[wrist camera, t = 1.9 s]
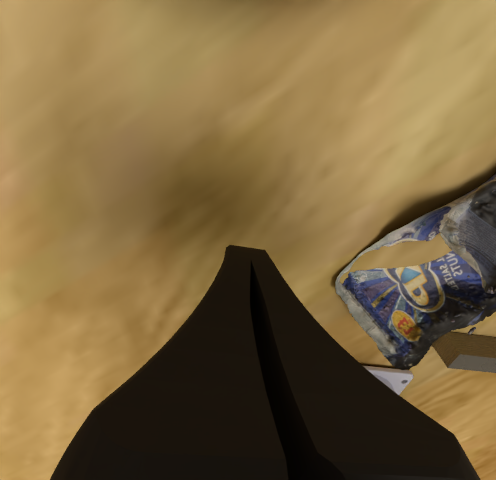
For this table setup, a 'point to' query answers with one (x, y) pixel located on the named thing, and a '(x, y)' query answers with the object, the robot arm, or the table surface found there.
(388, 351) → the snack package
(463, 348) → the rail track
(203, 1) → the table surface
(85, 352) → the table surface
